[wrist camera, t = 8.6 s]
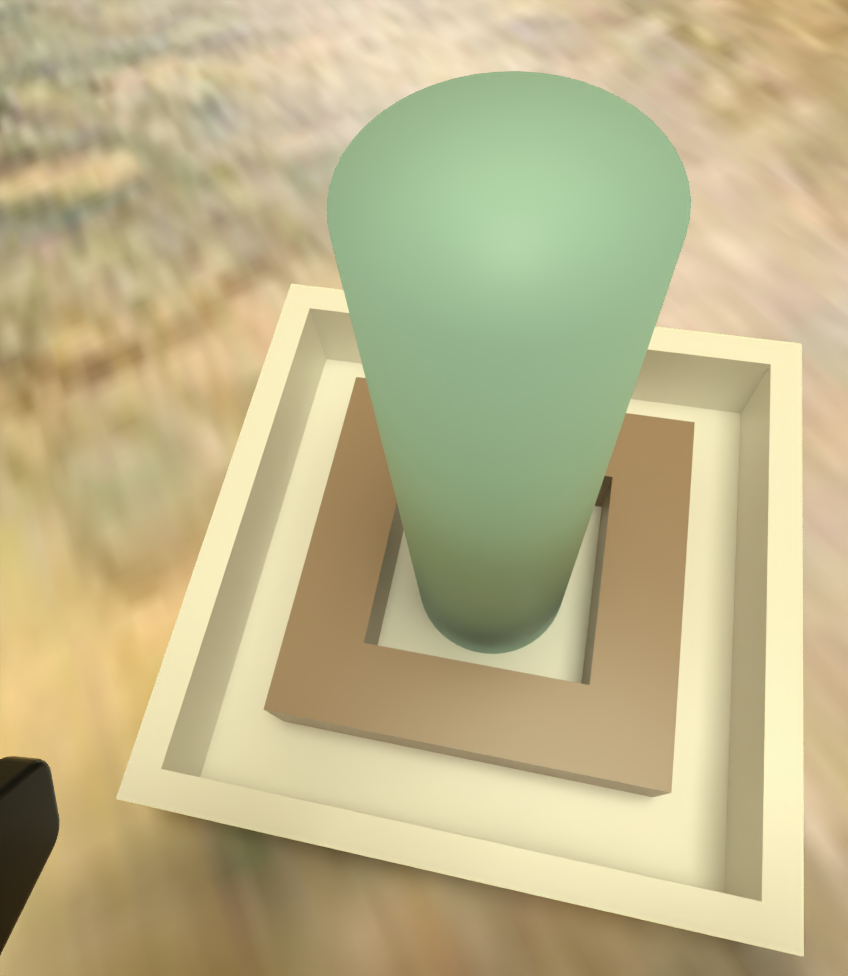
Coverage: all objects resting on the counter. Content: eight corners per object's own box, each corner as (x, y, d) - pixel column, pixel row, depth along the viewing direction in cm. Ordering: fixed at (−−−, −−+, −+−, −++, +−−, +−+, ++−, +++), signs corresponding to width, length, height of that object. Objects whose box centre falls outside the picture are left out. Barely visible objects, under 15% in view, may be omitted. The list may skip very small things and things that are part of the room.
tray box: (750, 937, 18) (803, 956, 15) (169, 804, 20) (115, 798, 17) (762, 404, 23) (801, 343, 21) (312, 346, 26) (291, 283, 23)
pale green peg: (584, 629, 20) (756, 282, 8) (442, 672, 20) (374, 387, 7) (535, 500, 22) (608, 38, 9) (403, 537, 22) (294, 119, 9)
